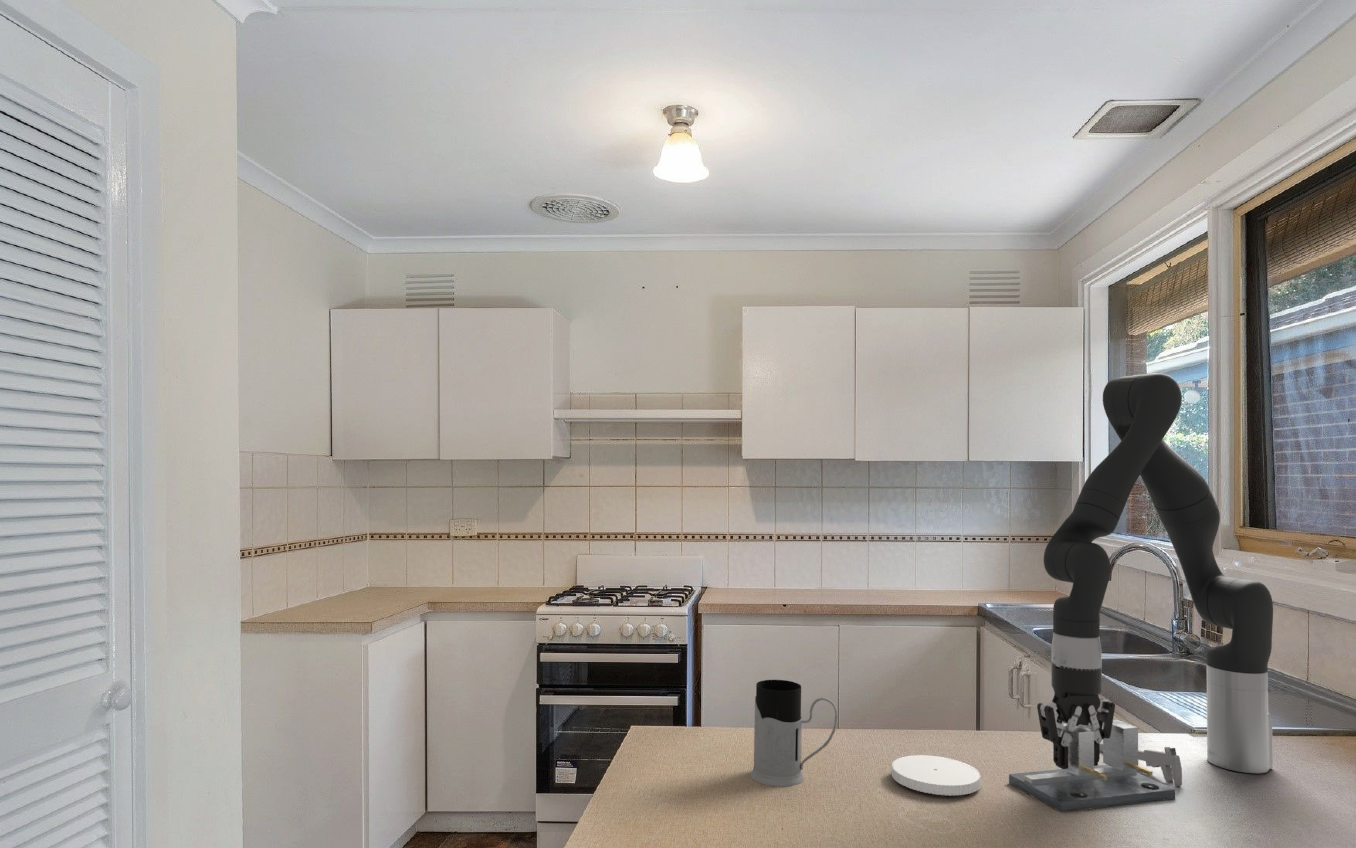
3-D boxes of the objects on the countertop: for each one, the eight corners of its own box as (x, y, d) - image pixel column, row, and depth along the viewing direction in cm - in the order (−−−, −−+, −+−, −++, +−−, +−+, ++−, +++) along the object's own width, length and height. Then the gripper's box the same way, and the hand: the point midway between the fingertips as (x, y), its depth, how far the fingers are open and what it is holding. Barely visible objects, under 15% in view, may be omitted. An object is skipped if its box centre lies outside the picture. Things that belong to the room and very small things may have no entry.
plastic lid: (913, 803, 131) (913, 787, 131) (878, 771, 145) (878, 756, 145) (997, 800, 133) (997, 784, 133) (955, 768, 147) (955, 754, 147)
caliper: (1182, 789, 140) (1182, 750, 140) (1176, 789, 139) (1176, 750, 140) (1097, 748, 160) (1097, 714, 160) (1091, 748, 159) (1091, 715, 160)
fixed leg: (1117, 761, 144) (1117, 719, 144) (1158, 779, 136) (1158, 735, 136) (1103, 762, 143) (1103, 720, 143) (1143, 780, 135) (1143, 736, 135)
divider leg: (1074, 765, 141) (1073, 723, 142) (1113, 783, 133) (1113, 738, 134) (1059, 767, 140) (1059, 724, 141) (1097, 785, 132) (1097, 740, 133)
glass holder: (758, 764, 146) (759, 676, 147) (840, 776, 141) (841, 685, 142) (744, 781, 138) (746, 688, 138) (832, 794, 133) (833, 698, 134)
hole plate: (1116, 772, 146) (1116, 759, 146) (1175, 799, 134) (1175, 784, 134) (1008, 783, 139) (1009, 769, 140) (1061, 812, 128) (1061, 796, 128)
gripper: (1094, 655, 145) (1094, 755, 144) (1024, 658, 141) (1024, 761, 140) (1129, 665, 138) (1129, 770, 137) (1056, 669, 134) (1056, 778, 133)
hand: (1076, 765), depth 139 cm, fingers open, 5 cm apart
